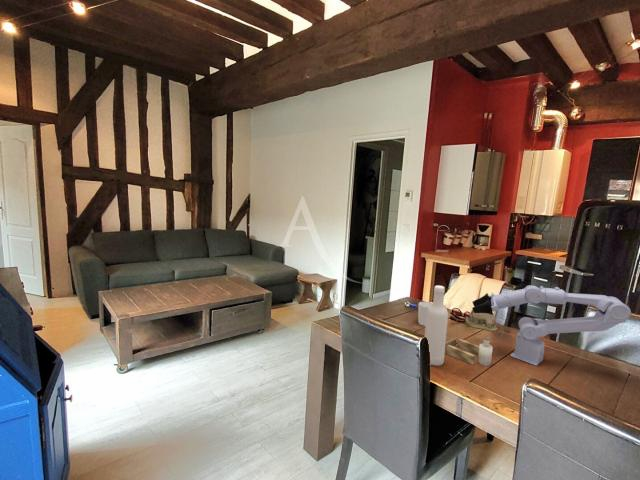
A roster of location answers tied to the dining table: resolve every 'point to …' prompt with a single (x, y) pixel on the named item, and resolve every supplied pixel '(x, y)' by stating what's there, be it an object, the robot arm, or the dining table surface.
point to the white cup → (422, 312)
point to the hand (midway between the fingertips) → (473, 307)
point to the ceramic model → (481, 321)
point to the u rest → (461, 353)
